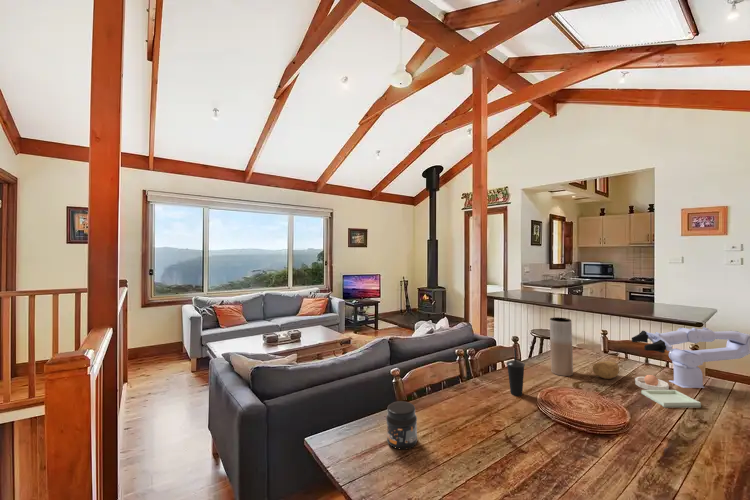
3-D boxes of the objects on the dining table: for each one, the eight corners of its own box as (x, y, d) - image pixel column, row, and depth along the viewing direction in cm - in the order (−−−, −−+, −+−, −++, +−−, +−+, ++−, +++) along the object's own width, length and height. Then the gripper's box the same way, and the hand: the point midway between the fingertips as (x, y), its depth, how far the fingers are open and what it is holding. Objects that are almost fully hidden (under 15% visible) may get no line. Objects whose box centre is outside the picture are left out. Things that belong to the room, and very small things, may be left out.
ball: (652, 383, 154) (652, 373, 154) (661, 388, 149) (661, 377, 149) (641, 383, 154) (641, 373, 154) (649, 388, 149) (649, 377, 149)
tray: (675, 394, 143) (675, 389, 143) (700, 407, 131) (700, 402, 131) (641, 394, 144) (641, 389, 144) (663, 407, 132) (663, 402, 132)
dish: (654, 381, 157) (654, 376, 157) (675, 392, 145) (675, 386, 145) (629, 381, 158) (629, 376, 158) (647, 392, 146) (647, 386, 146)
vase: (546, 370, 175) (545, 318, 175) (561, 368, 178) (559, 316, 178) (562, 377, 165) (560, 322, 165) (577, 374, 168) (576, 320, 168)
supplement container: (382, 437, 117) (381, 403, 117) (409, 430, 121) (408, 398, 121) (394, 454, 107) (393, 417, 107) (423, 446, 111) (422, 410, 111)
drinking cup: (522, 390, 152) (521, 346, 152) (528, 397, 144) (527, 351, 144) (505, 390, 153) (503, 346, 153) (510, 397, 145) (508, 351, 145)
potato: (625, 378, 162) (625, 362, 162) (608, 384, 156) (607, 367, 156) (605, 372, 171) (604, 356, 171) (587, 377, 165) (587, 361, 165)
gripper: (655, 324, 159) (626, 329, 160) (682, 338, 145) (651, 343, 145) (655, 337, 160) (627, 342, 161) (682, 352, 146) (651, 358, 147)
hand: (638, 343), depth 153 cm, fingers open, 7 cm apart
